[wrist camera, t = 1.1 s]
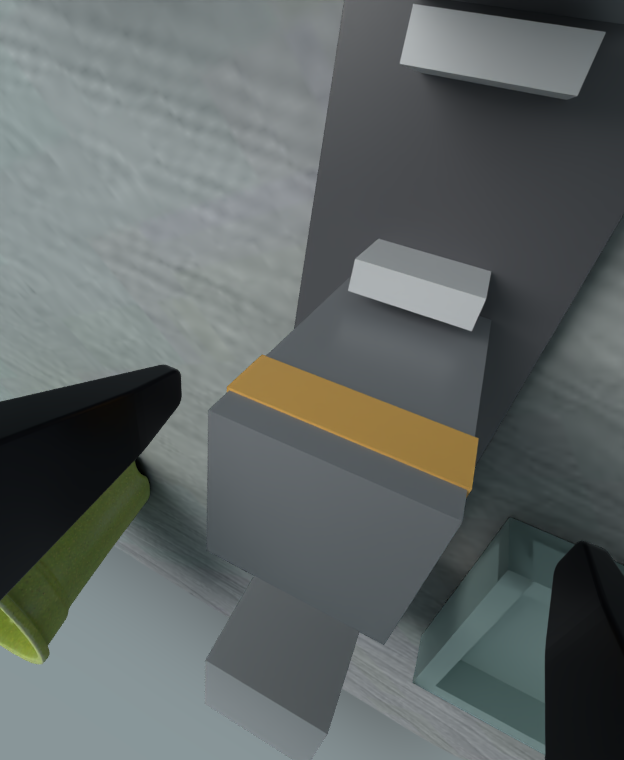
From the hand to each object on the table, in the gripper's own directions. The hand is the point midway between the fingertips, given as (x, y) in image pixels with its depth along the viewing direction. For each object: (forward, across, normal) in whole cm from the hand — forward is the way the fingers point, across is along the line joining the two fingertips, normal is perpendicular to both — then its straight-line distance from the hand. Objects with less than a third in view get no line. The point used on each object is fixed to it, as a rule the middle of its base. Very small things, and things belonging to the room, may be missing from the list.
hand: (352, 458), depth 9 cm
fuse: (+5, 0, 0) cm, 5 cm away
